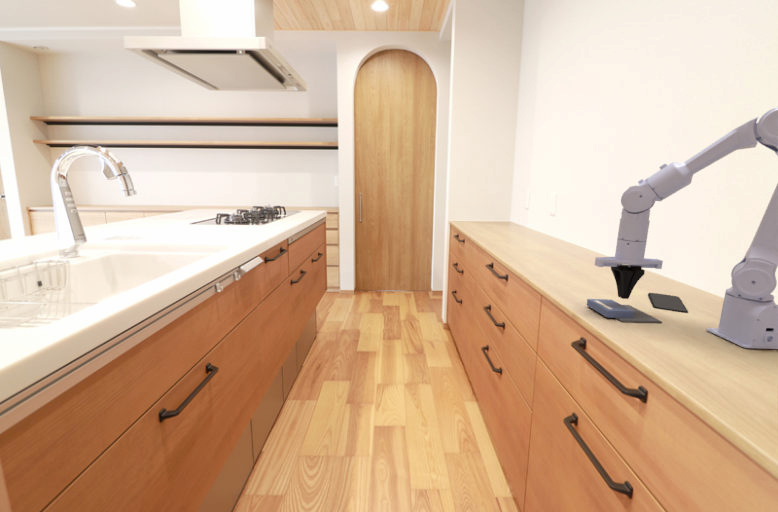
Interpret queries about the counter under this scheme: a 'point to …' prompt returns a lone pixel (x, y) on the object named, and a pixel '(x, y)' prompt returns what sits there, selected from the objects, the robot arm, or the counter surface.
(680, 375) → the counter surface
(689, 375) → the counter surface
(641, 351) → the counter surface
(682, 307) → the smartphone
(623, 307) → the block
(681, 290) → the counter surface
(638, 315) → the mat
